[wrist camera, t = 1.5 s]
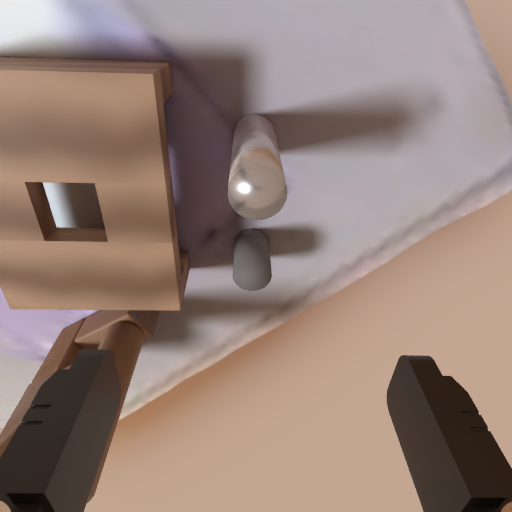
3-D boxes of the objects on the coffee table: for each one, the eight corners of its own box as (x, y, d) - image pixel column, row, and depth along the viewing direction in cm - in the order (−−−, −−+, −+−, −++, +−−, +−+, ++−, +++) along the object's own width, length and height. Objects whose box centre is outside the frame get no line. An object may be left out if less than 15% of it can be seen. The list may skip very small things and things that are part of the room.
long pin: (233, 113, 28) (227, 163, 19) (276, 114, 28) (289, 165, 19) (234, 155, 30) (227, 219, 21) (273, 155, 30) (284, 220, 21)
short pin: (234, 228, 34) (232, 259, 29) (269, 228, 34) (272, 259, 29) (234, 257, 35) (232, 290, 31) (267, 257, 35) (270, 290, 31)
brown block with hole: (-32, 55, 26) (-100, 66, 21) (171, 61, 26) (152, 74, 21) (43, 266, 36) (10, 309, 31) (189, 268, 36) (180, 310, 31)
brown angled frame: (61, 328, 40) (-50, 517, 25) (138, 288, 37) (64, 475, 22) (85, 348, 42) (-5, 535, 27) (160, 311, 39) (106, 499, 24)
